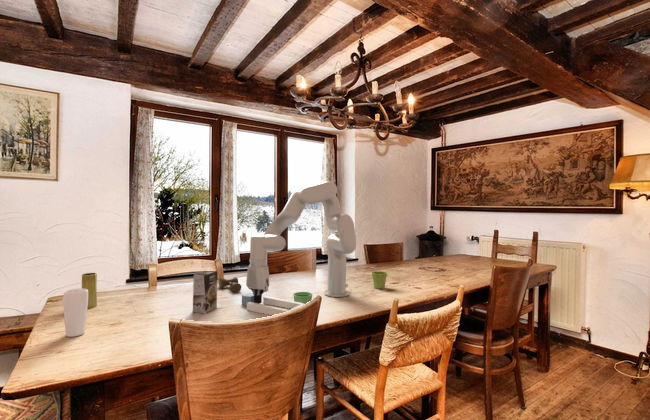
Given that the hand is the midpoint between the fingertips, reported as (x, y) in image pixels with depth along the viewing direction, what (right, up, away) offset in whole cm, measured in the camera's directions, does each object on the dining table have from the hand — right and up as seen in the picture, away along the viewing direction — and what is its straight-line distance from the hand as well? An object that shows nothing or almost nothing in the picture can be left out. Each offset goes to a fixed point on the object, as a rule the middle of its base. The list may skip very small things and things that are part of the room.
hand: (257, 303), depth 147 cm
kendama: (-21, -1, +31) cm, 37 cm away
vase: (-72, 0, -5) cm, 73 cm away
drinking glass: (-55, -1, -36) cm, 66 cm away
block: (-4, -1, +2) cm, 5 cm away
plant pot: (+61, -3, +39) cm, 73 cm away
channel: (+9, -2, -5) cm, 10 cm away
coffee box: (-21, -1, -6) cm, 22 cm away
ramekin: (+20, -2, +6) cm, 21 cm away
